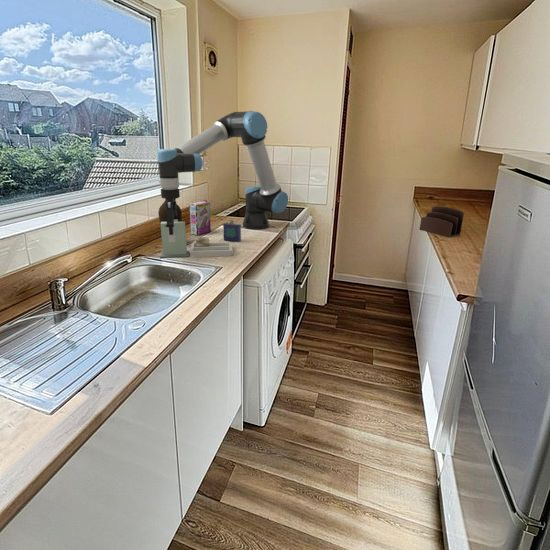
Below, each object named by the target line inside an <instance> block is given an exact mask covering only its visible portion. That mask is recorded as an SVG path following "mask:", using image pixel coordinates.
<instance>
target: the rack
mask: <svg viewBox="0 0 550 550" xmlns="http://www.w3.org/2000/svg"><path fill="white" fill-rule="evenodd" d="M209 242H210V241H209ZM189 251H190V253H189V256H190V258H198V257H201V258H202V257H205V258H206V257H233V246H232V242H229V241H223V242H222V241H220V242H219V241H216V242H215V241H212V242H210V246H209V247H196V242H192V243H191V245H190V250H189Z"/></svg>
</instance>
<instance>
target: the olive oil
mask: <svg viewBox="0 0 550 550" xmlns="http://www.w3.org/2000/svg"><path fill="white" fill-rule="evenodd" d="M163 201H164V202H163V203H162V204H161V205H160V206H159V208H158V219H159V224H160V223H161V222H167V214H166V202H167V199H165V200H163ZM176 207H177V214H178V216H179V219H178V222H183V214H182V213H183V212H182V209H181V206H180V205H179V204H178V203H176ZM159 228H160V229H161V226H160V227H159Z"/></svg>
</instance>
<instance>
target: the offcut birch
mask: <svg viewBox="0 0 550 550" xmlns="http://www.w3.org/2000/svg"><path fill="white" fill-rule="evenodd" d="M195 243H196V246H210V237H209V236H196V237H195Z"/></svg>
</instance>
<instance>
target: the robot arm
mask: <svg viewBox="0 0 550 550" xmlns="http://www.w3.org/2000/svg"><path fill="white" fill-rule="evenodd" d="M267 132H268V122H267V119H266V117H265V115H263V114H262V112H260V111H253V110H248V111H246V110H245V111H232V112H230V113H228V114H227V115H224V116H223V117H221V118H220V119H218V120H216V121H214V123H213V125H212V126H210V127H208V128H207V129H205V130H203V131H202V132H201V133H199V134H197V135H195V136H194V137H192V138H190V139H189V140H187V141H185V142H184V143H182V144H181V145H178V146H177V147H175V148H160V149H159V150H157V162H158V165H157V167H158V173H159V174H158V175H159V180H158V183H159V184H160V185H159V186H160V188H161V189H160V197H161V198H162V199H167V202H166V214H167V225H166V227H168V238H169V242H176V240H175V227H174V222H178V219H179V216H178V214H177V207H176V204H177V199H179V198H180V197H181V196H180V193H181V192H180V189H179V188H180V180H179V173H195V172H200V171H201V170H202V168H203V165H204V163H203V158H202V156H201V155H200V154H202V153H204V152H205V151H207V150H208V149H210V148H211V147H213V146H214V145H216V144H218V143H219V142H221V141H223V142H224V141H227V140H229V139H231V138H240V139H241V142H242V144H243V145H244V147H246V148H247V150H248V153H249V156H250V159H251V161H252V162H251V163H252V165H253V168H254V171H255V174H256V176H257V180H258V183H259V185H257V186H254V185H253V186H248V187H246V189H245V194H244V195H245V215H244V218H243V220H242V221H243V222H242V227H243V228H244V229H247V230H248V229H249V230H263V229H264V230H265V229H267V228H269V225H270V223H269V222H270V221H269V218H268V216H267V212H269V213H274V214H275V213H276V214H280V213H282V212H284V211H285V210H286V208H287V207H288V206H287V205H288V204H289V195H288V194H287V192H285V191H282V187H281V185H280V184H279V183H278V182H277V181H276V177H275V175H274V171H273V167H272V164H271V161H270V158H269V153H268V151H267V147H266V144H265V139H266V134H267ZM169 223H172V224H169Z"/></svg>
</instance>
